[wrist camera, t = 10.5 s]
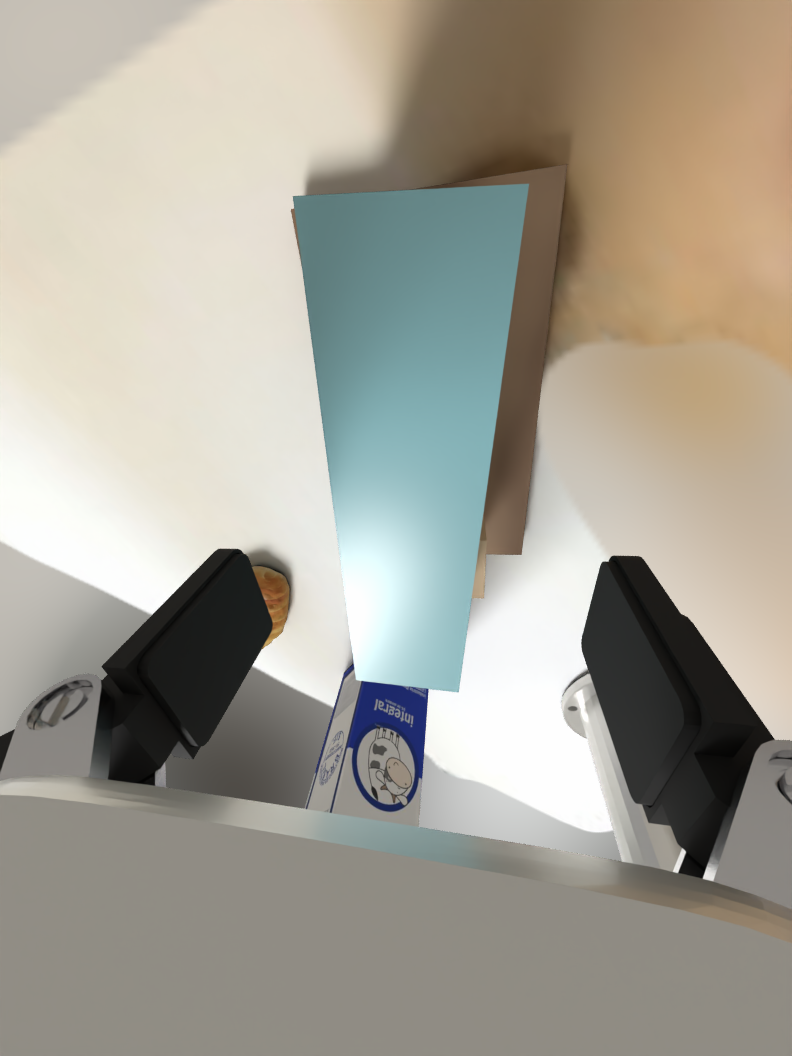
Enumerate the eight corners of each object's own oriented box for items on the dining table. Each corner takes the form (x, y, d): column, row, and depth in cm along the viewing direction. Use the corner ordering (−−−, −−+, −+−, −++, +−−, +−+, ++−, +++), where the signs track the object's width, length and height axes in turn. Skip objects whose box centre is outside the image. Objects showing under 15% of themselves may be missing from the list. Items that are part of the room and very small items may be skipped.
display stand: (558, 173, 16) (623, 103, 10) (518, 542, 27) (536, 619, 21) (302, 214, 18) (221, 177, 12) (361, 541, 29) (335, 611, 23)
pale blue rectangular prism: (498, 227, 11) (529, 183, 7) (458, 593, 20) (458, 692, 15) (360, 232, 12) (292, 196, 7) (379, 587, 21) (355, 680, 16)
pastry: (238, 546, 31) (213, 575, 28) (309, 579, 32) (294, 611, 29) (217, 608, 36) (195, 639, 33) (280, 635, 38) (264, 667, 34)
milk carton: (431, 672, 37) (410, 982, 20) (397, 699, 41) (356, 981, 24) (371, 642, 36) (298, 948, 19) (342, 673, 39) (259, 952, 23)
